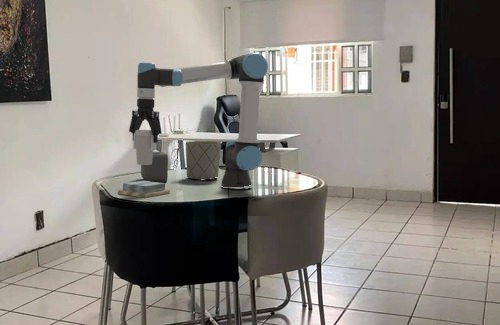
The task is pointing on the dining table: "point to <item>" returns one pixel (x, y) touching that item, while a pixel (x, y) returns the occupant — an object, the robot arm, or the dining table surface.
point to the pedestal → (143, 189)
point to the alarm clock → (156, 168)
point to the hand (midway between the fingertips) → (144, 149)
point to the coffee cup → (143, 147)
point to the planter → (202, 159)
